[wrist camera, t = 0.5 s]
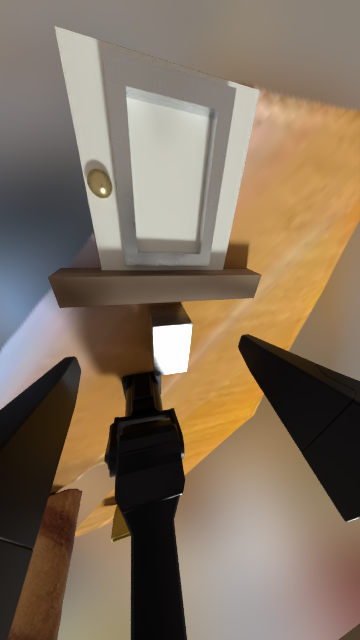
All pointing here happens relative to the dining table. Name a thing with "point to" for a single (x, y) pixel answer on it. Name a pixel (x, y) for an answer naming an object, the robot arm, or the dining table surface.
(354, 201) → the dining table surface
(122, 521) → the flower pot
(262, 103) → the dining table surface
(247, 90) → the mini door model
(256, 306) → the dining table surface
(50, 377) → the robot arm
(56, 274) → the brown wooden bar
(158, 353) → the block
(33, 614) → the wafer roll
